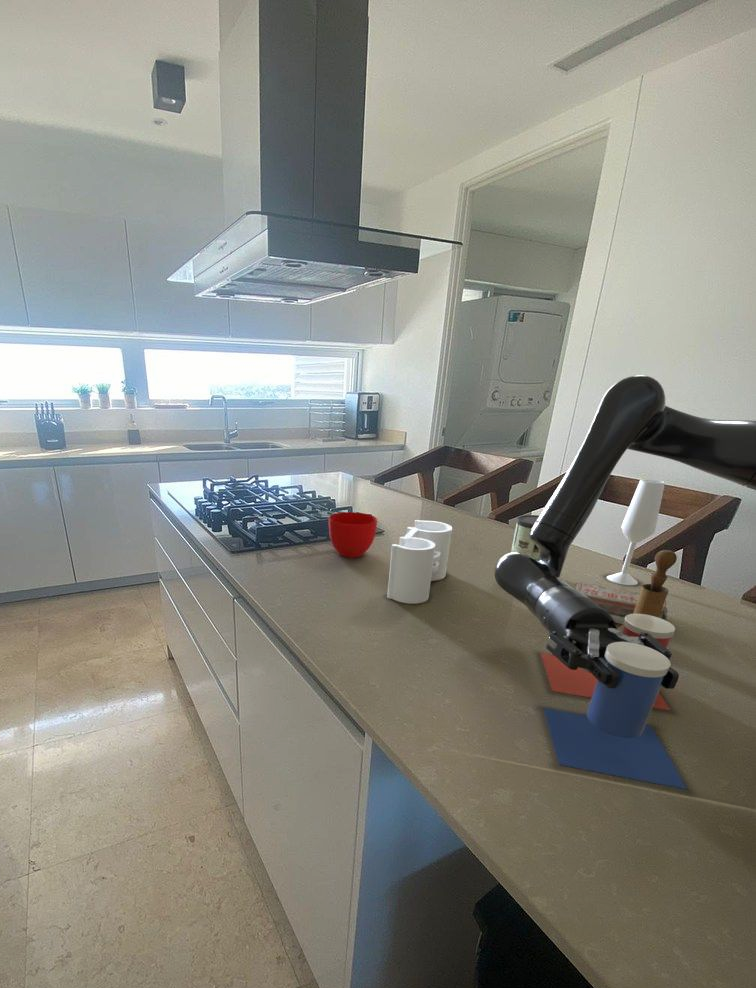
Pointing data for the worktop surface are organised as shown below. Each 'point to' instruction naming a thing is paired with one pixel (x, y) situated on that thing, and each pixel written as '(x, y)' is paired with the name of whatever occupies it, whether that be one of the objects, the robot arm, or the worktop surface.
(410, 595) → the bracket
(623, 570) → the champagne flute
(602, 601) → the packaged product
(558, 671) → the terracotta mat
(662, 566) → the mortar and pestle
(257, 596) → the worktop surface
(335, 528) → the ceramic cup
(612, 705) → the blue canister
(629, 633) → the red canister
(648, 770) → the blue mat
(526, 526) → the coffee can
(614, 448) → the robot arm
